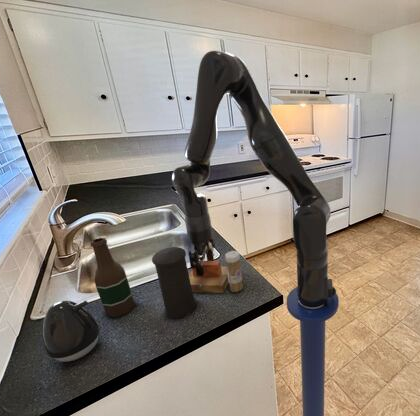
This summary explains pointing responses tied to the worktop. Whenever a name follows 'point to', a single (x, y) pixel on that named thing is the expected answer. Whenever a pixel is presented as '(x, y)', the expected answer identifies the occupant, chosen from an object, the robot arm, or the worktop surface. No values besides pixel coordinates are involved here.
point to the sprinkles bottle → (234, 271)
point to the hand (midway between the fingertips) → (205, 268)
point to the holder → (209, 269)
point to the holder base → (210, 282)
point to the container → (174, 281)
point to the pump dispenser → (69, 331)
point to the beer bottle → (111, 281)
